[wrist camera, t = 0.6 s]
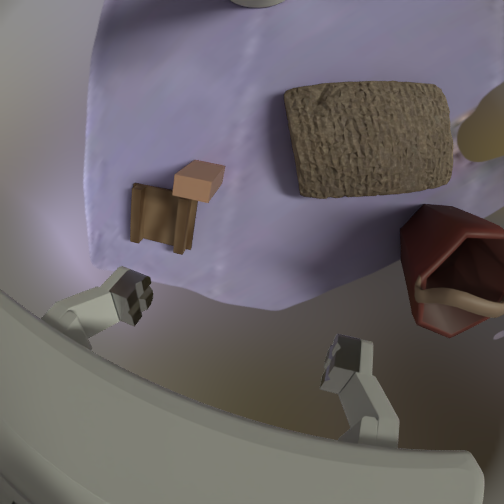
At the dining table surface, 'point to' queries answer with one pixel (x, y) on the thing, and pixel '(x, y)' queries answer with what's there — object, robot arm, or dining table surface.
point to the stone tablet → (369, 138)
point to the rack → (162, 217)
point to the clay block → (198, 181)
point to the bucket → (452, 268)
